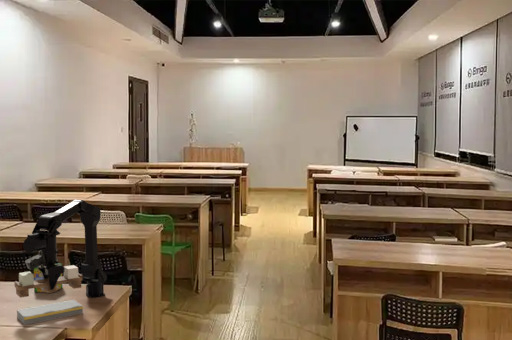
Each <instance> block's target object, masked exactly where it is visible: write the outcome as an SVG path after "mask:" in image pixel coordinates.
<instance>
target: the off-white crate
mask: <svg viewBox="0 0 512 340" xmlns="http://www.w3.org/2000/svg"><path fill="white" fill-rule="evenodd" d="M63 267H64V268H65V272H64V273H63V276H64V277H66V278H67V279H73V278H78V273H79V267H78V266H76V265H74V264H72V265H64V266H63Z"/></svg>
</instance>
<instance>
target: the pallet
mask: <svg viewBox="0 0 512 340" xmlns="http://www.w3.org/2000/svg"><path fill="white" fill-rule="evenodd" d="M82 281H83V277H82V273H79V272H78V278H73V279H67V278H66V277H64V275H62V276H61V277H59V279H58V281H57V283H56V284H62V285H63V284H68V286H69V287H71V288H72V289H79V288H82ZM38 287H43V290H45V291H46V292H45V293H47V294H50V293H51V292H53V293H56V285H55V287H54V289H52V290H51V289H50V284H49V279H42V280H35V281H34V285H28V286H22V285H20V284H19V281H17V280H15V281H14V288H15V294H16V295H17V296H18V297H19V298H20V299H21V298H27V297H30V295H29V294H30V293H29V292H30V289H34V288H38ZM51 294H52V293H51Z"/></svg>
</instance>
